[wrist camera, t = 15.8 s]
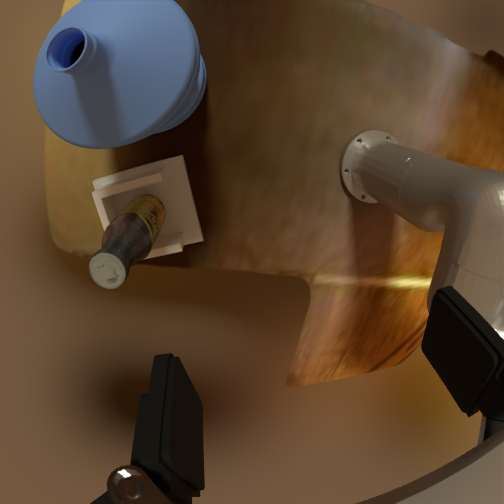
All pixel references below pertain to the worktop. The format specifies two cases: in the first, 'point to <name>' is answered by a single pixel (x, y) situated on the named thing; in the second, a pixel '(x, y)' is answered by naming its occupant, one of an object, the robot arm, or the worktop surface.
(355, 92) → the worktop surface
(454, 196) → the robot arm
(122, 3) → the water jug
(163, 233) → the end holder
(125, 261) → the sauce bottle
